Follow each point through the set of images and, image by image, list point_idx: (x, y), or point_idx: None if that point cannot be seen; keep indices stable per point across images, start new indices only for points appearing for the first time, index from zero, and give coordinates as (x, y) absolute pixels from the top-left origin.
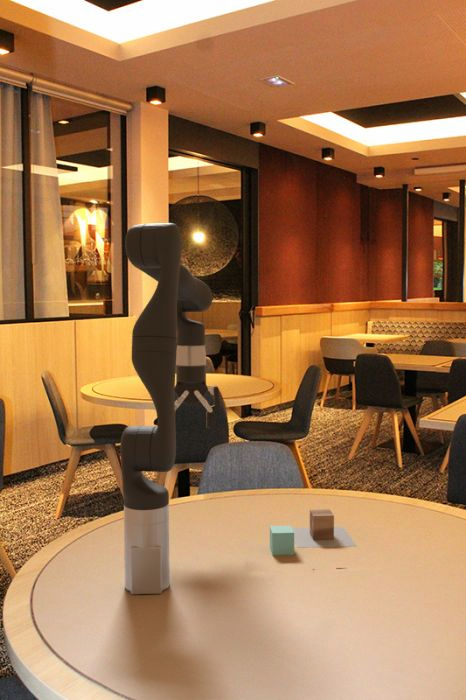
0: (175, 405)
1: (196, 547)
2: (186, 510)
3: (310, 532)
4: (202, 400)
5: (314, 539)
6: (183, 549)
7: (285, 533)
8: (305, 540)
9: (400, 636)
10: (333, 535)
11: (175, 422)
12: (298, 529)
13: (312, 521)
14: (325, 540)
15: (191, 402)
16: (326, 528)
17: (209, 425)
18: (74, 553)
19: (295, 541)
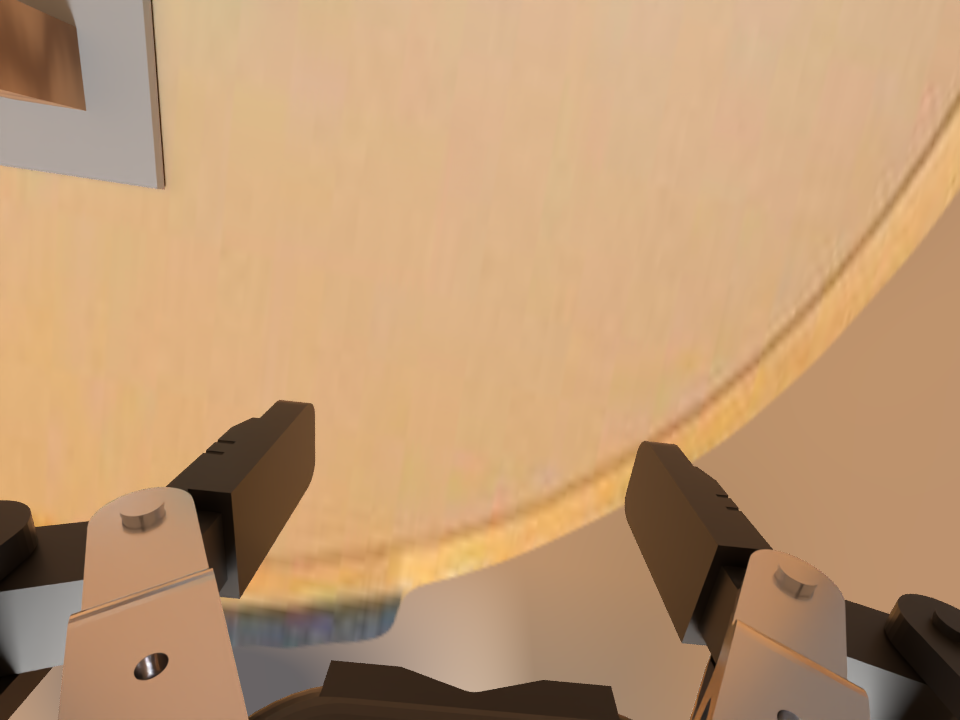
0: (807, 659)
1: (492, 102)
2: (468, 463)
3: (76, 90)
4: (156, 687)
5: (68, 24)
6: (537, 92)
7: None
8: (105, 33)
9: None
10: None
11: (666, 467)
12: (124, 164)
13: (16, 23)
14: None
15: (468, 703)
16: None
17: (277, 403)
18: (879, 137)
19: (143, 30)
